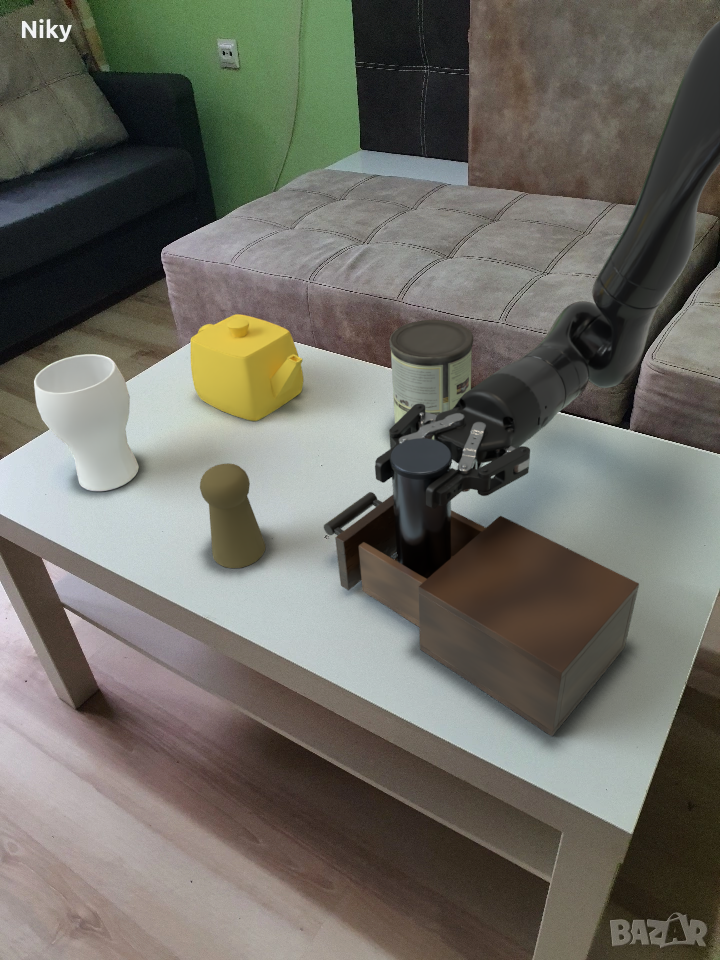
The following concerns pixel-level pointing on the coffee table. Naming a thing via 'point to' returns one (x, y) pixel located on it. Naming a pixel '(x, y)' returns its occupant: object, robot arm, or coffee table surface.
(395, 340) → the coffee can
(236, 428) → the coffee table surface
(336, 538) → the drawer
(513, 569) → the cabinet
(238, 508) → the pepper shaker
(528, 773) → the coffee table surface
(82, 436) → the cup
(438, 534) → the slate tube
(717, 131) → the robot arm
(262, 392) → the teapot
